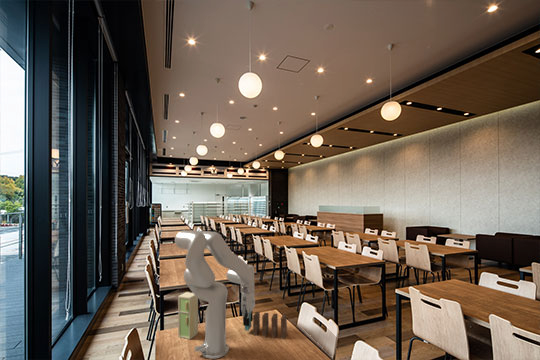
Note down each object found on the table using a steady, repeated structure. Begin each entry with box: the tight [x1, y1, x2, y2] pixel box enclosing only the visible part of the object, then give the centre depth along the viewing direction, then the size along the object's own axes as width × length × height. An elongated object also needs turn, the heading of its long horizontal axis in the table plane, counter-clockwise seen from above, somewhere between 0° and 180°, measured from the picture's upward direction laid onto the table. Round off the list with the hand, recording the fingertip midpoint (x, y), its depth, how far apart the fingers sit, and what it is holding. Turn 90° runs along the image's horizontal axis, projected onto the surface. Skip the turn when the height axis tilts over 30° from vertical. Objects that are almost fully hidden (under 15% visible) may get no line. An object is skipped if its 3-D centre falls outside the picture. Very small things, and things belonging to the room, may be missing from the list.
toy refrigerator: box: [177, 291, 199, 340], centre depth 142 cm, size 8×7×21 cm
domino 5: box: [280, 314, 288, 340], centre depth 139 cm, size 2×5×10 cm, turn 165°
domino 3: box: [261, 312, 270, 338], centre depth 142 cm, size 2×5×10 cm, turn 165°
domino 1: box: [244, 311, 252, 332], centre depth 145 cm, size 2×5×10 cm, turn 165°
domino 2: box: [252, 311, 261, 337], centre depth 143 cm, size 2×5×10 cm, turn 165°
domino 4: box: [270, 313, 279, 339], centre depth 140 cm, size 2×5×10 cm, turn 165°
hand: (248, 322), depth 145 cm, fingers closed on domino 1, 4 cm apart
